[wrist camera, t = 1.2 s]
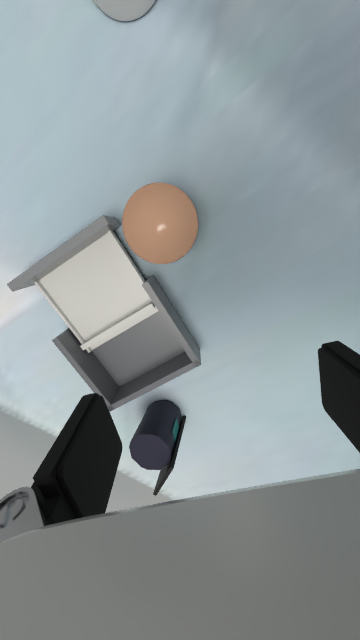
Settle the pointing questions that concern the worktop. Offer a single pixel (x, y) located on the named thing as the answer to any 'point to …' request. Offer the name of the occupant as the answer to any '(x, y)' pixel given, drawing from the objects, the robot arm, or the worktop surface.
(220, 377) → the worktop surface
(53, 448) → the robot arm
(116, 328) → the tray
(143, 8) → the pill bottle
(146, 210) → the tan domed disc
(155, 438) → the speaker
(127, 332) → the housing
